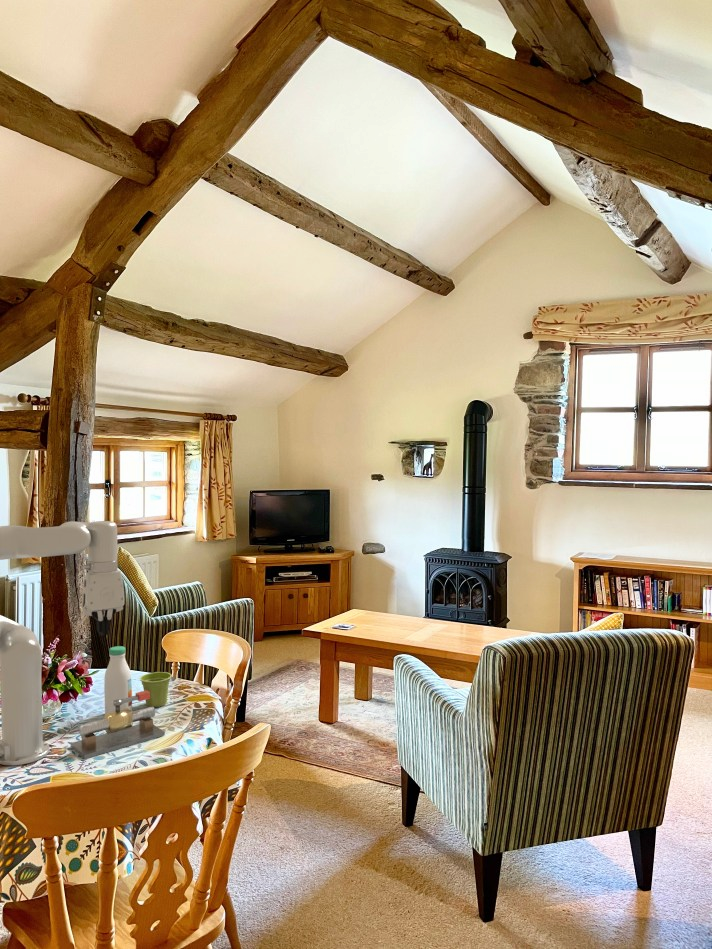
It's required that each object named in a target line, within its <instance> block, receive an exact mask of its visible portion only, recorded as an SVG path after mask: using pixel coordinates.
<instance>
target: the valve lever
mask: <svg viewBox="0 0 712 949" xmlns="http://www.w3.org/2000/svg"><path fill="white" fill-rule="evenodd" d="M147 699H150V692H149V691H147V690H145V691H144V690H142V691H138V692H135V695H132V697H128V698H124V699H121V700H120V699H118V700H114V701H113V705H114V706H120V705H122V704H124V703H127V702H131V701H132V702H134V701H138V702H143V701H146V700H147Z"/></svg>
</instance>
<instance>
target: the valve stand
mask: <svg viewBox="0 0 712 949" xmlns="http://www.w3.org/2000/svg"><path fill="white" fill-rule="evenodd" d="M155 710H156V709H155V707H148V706H147V707H145V708H142V709H138V710H134V711H133V710H132V712H131V711H130V710H129V709H128V708H127V709H123V710H120V706H115V712H111V713H108V714H105V713H104V715H103V719H99V720H96V721H92V722H88V723H84V724H80V725H78V734H79V736H80V737H81V739H80V740H78V741H77V740H76V741H73V742H70V748H71V749H72V750H74V751H75V752H76V753H77V754H78V755H79V756H80V757H82V758H83V759H84V760H86V759H89V758H92V757H97V756H99V755H102V754H107V753H110V752H113V750H114V751H115V750H116V751H117V750H121V749H124V748H127V747H129V746H130V747H131V746H132V745H133V744H134V745H137V744H140V742H141V743H143V742H144V743H145V742H147V741H150V740H154V739H157V738H161V737H164V736H165V734H166V732H165V731H164V730H163V729H161V728H159V727H158V726H157V725H155V724H154V719H153V718H154V717H155V716H156V711H155ZM136 722H139V723H138V724H134V725H133V723H136ZM103 731H105V733H102V734H98V735H96V733H99V732H103ZM134 745H133V746H134ZM126 746H127V747H126ZM123 747H124V748H123Z"/></svg>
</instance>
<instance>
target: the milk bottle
mask: <svg viewBox="0 0 712 949" xmlns="http://www.w3.org/2000/svg"><path fill="white" fill-rule="evenodd" d="M108 652H109V653H108V655H109V656H108V657H110V658H109V662H108V665H107V668H106V669H105V672H104V684H103V686H104V687H103V688H104V689H103V690H104V715H105V714H108V713H111V712H115V706H114V705H113V701H114V700H118V699H120V700H121V699H124V698H128V697H132V696H133V689H132V688H133V687H132V673H131V670H130V667H129V664H128V663H127V660H126V647H125V646H121V645H119V646H118V645H117V646H113V647H110V648H109V650H108ZM127 708H128V709H129V710H130V711H131V712H133V701H131V702H127V703H124V704H122V705H120V710H123V709H127Z"/></svg>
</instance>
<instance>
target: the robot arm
mask: <svg viewBox="0 0 712 949" xmlns="http://www.w3.org/2000/svg"><path fill="white" fill-rule="evenodd" d="M86 549H87V562H86V564H82V569H83V571H84V570H86V571H87V572H85V576H84V581H83V585H82V586H83V589H82V608H83V609H82V614H83V615H84V616H87V617H88V616H89V617H92V618H94V619H95V620H96V632H97V633H98V635H99V636H102V637H103V636H109V632H110V631H111V620H112V618H113V616H115V614H116V613H117V612H120V611H123V610H124V605H125V589H124V581H123V575H122V572H121V570H118V568H119V566H118V564H119V563H118V526H117V523H116V522H114V521H111V520H107V521H106V520H102V521H101V520H100V521H92V522H85V521H74V520H73V521H67V522H63V523H61V525H59V526H45V527H44V526H42V527H38V526H37V527H34V526H32V527H30V526H24V525H14V524H13V525H12V524H11V525H0V561H2V560H12V559H27V558H28V559H30V558H45V557H56V556H65V555H74V554H75V555H76V554H79V553H82V552H83V551H85V550H86ZM42 662H43V652H42V648H41V645H40V642H39V640H38V637H37V635H36V634H35V632H33V630H31V629H30V628H28V627H26V626H24V625H22V624H20V623H19V622H16V621H14V620H12V619H10V618H8V617H6V616H3V615H1V614H0V710H1V711H0V712H1V713H0V715H1V717H0V718H1V739H0V765H4V766H20V765H25V764H31V763H33V762H37V761H39V760H41V759H43V758H45V757H46V756H47V755H48V754H49V753H50V750H51V749H50V747H51V746H50V745H49V744H48V743H47V742H45V741H44V740H43V739H44V733H43V730H44V729H43V703H42V702H43V699H42V698H43V697H42V696H43V695H42V693H43V692H42V664H43V663H42Z"/></svg>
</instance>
